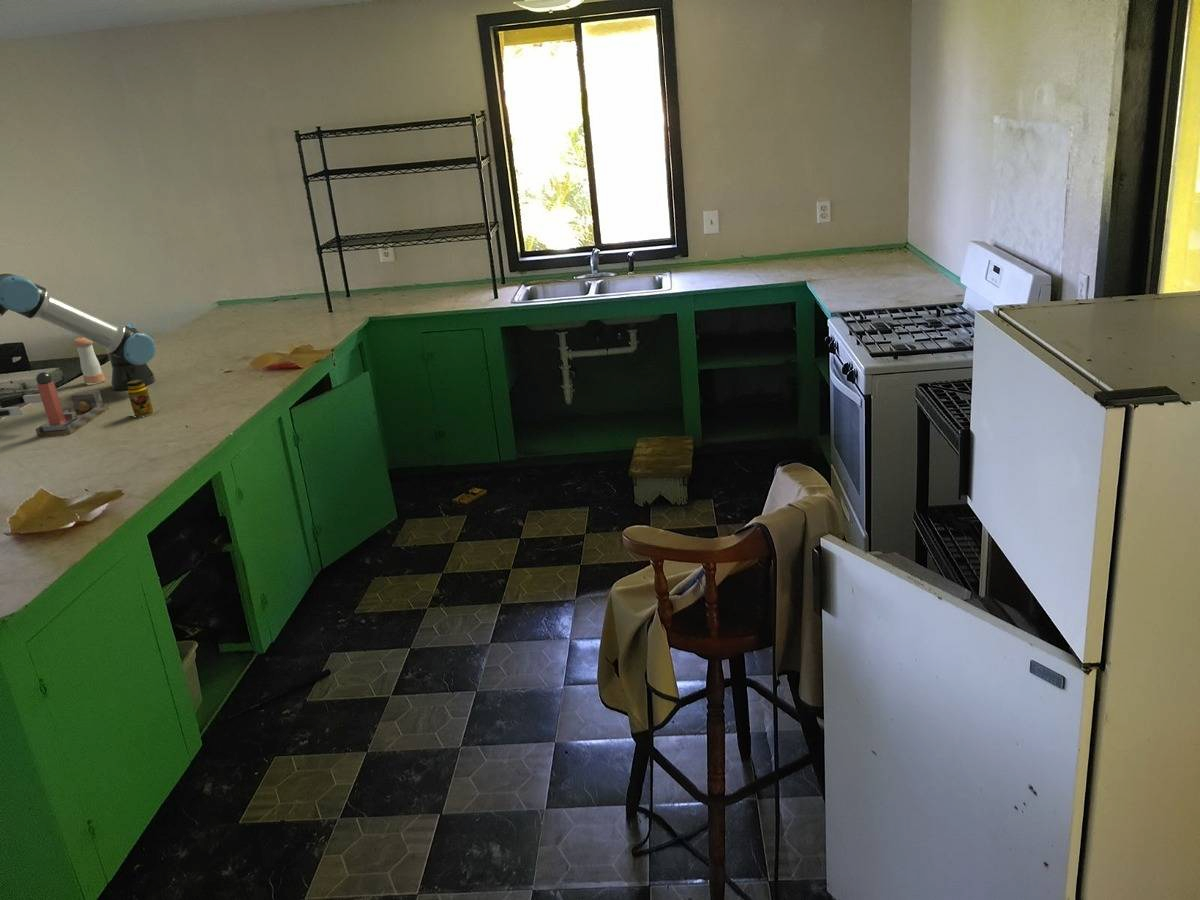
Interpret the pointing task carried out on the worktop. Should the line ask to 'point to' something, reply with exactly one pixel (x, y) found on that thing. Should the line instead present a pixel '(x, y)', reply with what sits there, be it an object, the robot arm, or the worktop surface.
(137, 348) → the robot arm
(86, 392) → the press base
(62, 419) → the handle carriage
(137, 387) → the condiment
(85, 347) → the pepper shaker
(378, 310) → the worktop surface
